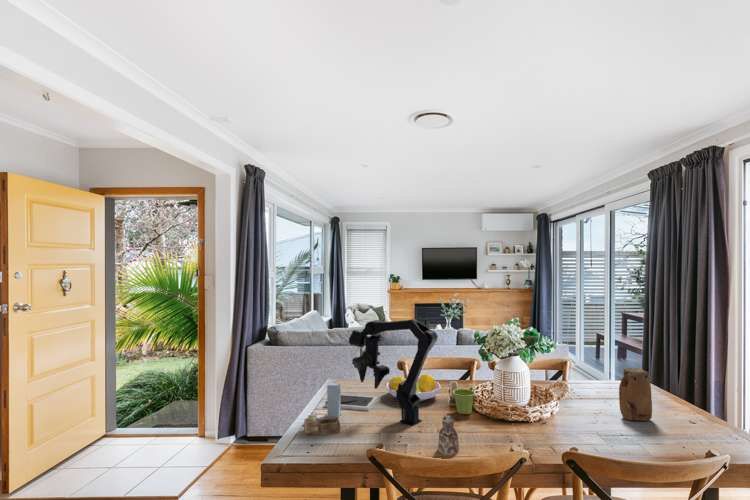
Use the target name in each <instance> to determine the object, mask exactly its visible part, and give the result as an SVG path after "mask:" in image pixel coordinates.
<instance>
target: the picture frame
mask: <svg viewBox="0 0 750 500" xmlns="http://www.w3.org/2000/svg"><path fill="white" fill-rule="evenodd" d="M378 400H379V397H378V396H370V395H360V394H358V395H356V394H344V393H341V409H342V410H352V411H353V410H354V411H365V412H369V411H370V410H371V409H372V407H373V406H374V405H375V403H377V402H378ZM324 408H327V400H326V401H325V402H324Z"/></svg>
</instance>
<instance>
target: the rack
mask: <svg viewBox="0 0 750 500" xmlns="http://www.w3.org/2000/svg"><path fill="white" fill-rule="evenodd" d="M317 422H318V432H309V433H306V431H305V426H304V429H303V431H304V436H306V437H307V436H316V435H327V434H336V433H338V434H339V433H341V422H340V419H339V418H338V417H335V418H333V417H326V418H317Z"/></svg>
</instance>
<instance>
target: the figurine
mask: <svg viewBox="0 0 750 500" xmlns="http://www.w3.org/2000/svg"><path fill="white" fill-rule="evenodd" d="M441 422H442V423H441V424H442V427H441V429H440V430H439V433H438V443H437V446H438V447H437V449H438V452H440V453H441V454H442V455H444V454H445V455H446V456H454V455H453V454H455V455H457V453H459V452H460V442H459V434H458V432H457V430H456V428H454V427H455V426H454V423H455V421H454V419H453V416H451V414H450V412H447V413H446V415H444V416H443V418H442V420H441Z"/></svg>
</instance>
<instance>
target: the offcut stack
mask: <svg viewBox="0 0 750 500" xmlns="http://www.w3.org/2000/svg"><path fill="white" fill-rule="evenodd" d="M317 419H318V416H317V414H310V415H308V416H307V418H304V419H303V420H304V427H305V431H306V433H309V432H318V422H317ZM305 431H304V432H305Z"/></svg>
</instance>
